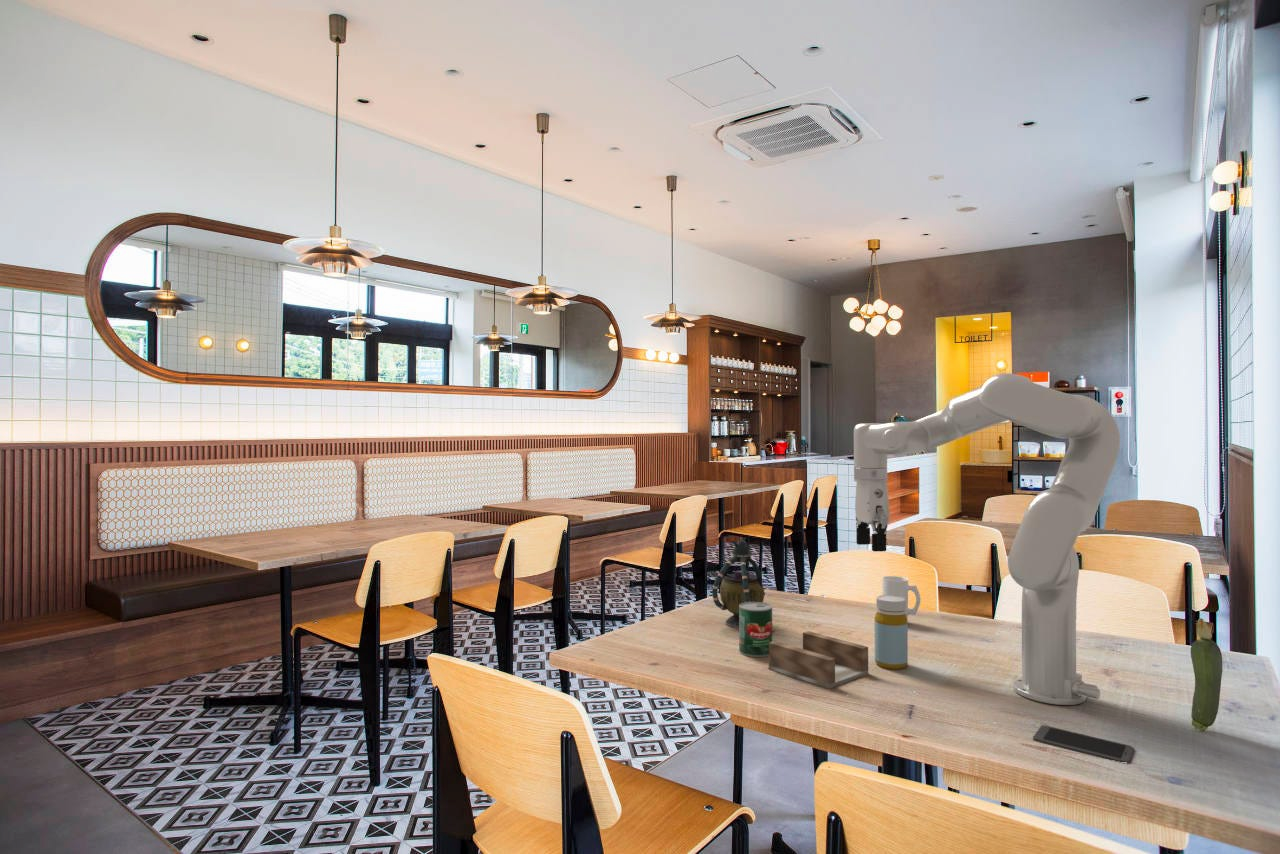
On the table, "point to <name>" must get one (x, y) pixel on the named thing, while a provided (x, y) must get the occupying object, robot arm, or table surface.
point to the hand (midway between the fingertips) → (870, 547)
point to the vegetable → (1205, 678)
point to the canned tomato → (755, 628)
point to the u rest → (820, 660)
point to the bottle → (891, 632)
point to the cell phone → (1084, 744)
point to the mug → (900, 591)
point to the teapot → (738, 584)
